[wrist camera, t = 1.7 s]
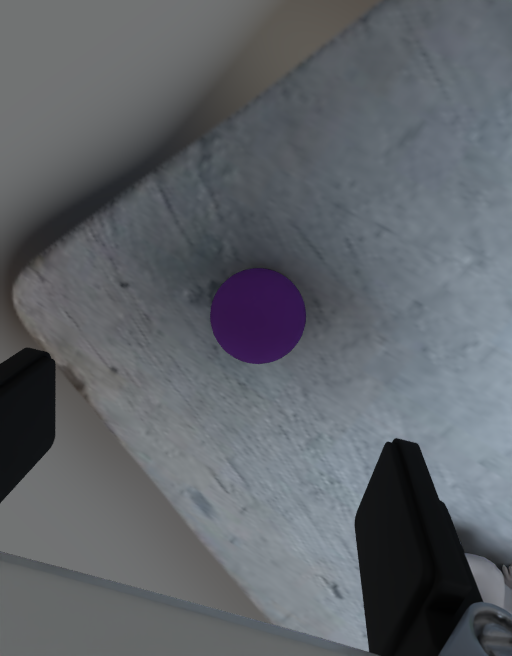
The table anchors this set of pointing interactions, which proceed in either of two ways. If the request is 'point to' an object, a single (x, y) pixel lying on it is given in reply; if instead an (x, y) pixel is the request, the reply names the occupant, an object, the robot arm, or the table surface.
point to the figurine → (492, 581)
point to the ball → (258, 316)
